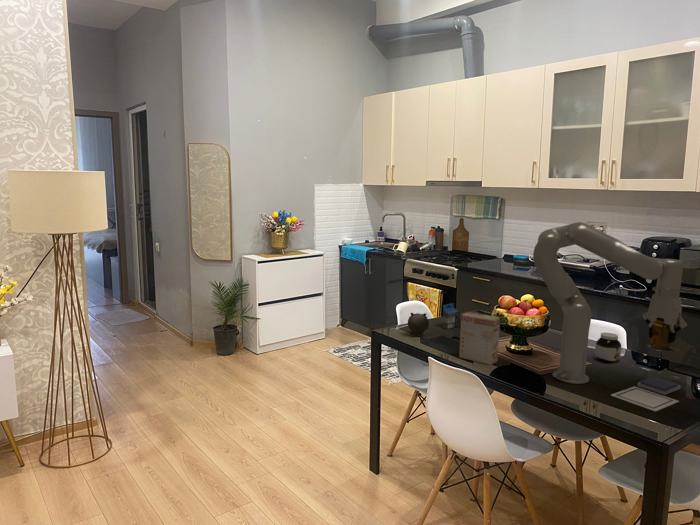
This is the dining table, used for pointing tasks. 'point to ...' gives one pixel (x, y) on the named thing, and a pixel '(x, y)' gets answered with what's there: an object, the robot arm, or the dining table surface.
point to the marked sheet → (644, 398)
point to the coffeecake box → (479, 337)
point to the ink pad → (659, 385)
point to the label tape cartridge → (450, 316)
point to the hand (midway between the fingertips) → (661, 339)
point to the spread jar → (608, 348)
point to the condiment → (660, 336)
